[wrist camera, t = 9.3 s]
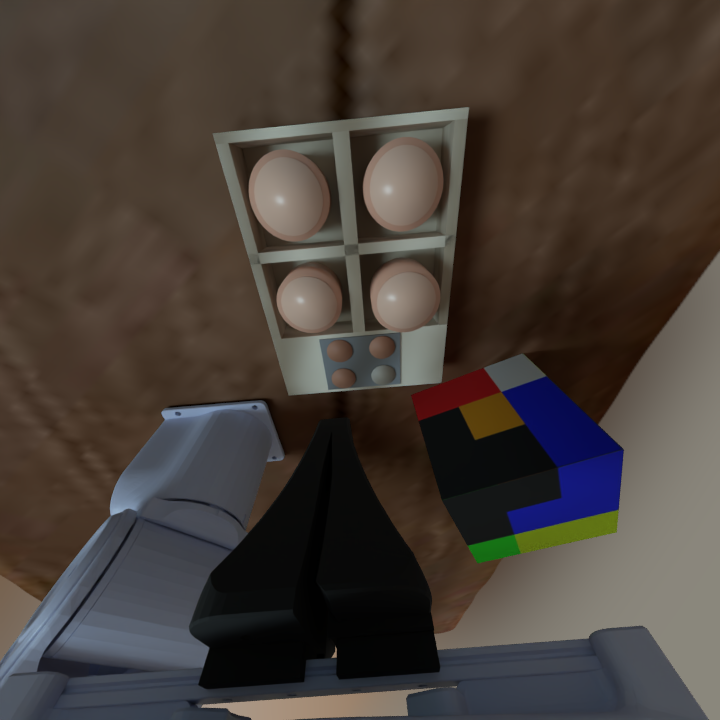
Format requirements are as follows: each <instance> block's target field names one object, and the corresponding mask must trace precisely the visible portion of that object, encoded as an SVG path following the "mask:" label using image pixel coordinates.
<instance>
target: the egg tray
mask: <svg viewBox="0 0 720 720" xmlns="http://www.w3.org/2000/svg"><path fill="white" fill-rule="evenodd" d="M468 111H469V107H466V108H456V109H446V110H437V111H427V112H417V113H408V114H398V115H388V116H378V117H369V118H359V119H349V120H339V121H330V122H320V123H310V124H301V125H291V126H281V127H271V128H262V129H252V130H242V131H232V132H223V133H213V137H214V140H215V143H216V147H217V150H218V154H219V157H220V161H221V164H222V167H223V171H224V174H225V178H226V181H227V185H228V188H229V192H230V195H231V198H232V202H233V205H234V209H235V212H236V216H237V219H238V223H239V226H240V229H241V233H242V236H243V240H244V243H245V247H246V250H247V253H248V257H249V260H250V264H251V267H252V271H253V274H254V278H255V281H256V284H257V288H258V291H259V295H260V298H261V302H262V305H263V309H264V312H265V315H266V319H267V322H268V326H269V329H270V333H271V336H272V339H273V343H274V346H275V350H276V353H277V357H278V360H279V364H280V367H281V370H282V374H283V377H284V381H285V384H286V388H287V391H288V395H300V394H312V393H324V392H336V391H348V390H360V389H372V388H384V387H396V386H408V385H420V384H432V383H441V381H442V371H443V361H444V351H445V341H446V331H447V321H448V311H449V301H450V291H451V281H452V271H453V261H454V251H455V241H456V231H457V221H458V211H459V201H460V191H461V181H462V171H463V161H464V151H465V141H466V131H467V121H468ZM401 137H413V138H417V139H420V140H422V141H424V142H425V143H427V144H428V145H429V146H430V147H431V148H432V149H433V150H434V151H435V153H436V154H437V156H438V158H439V160H440V163H441V166H442V170H443V191H442V195H441V198H440V201H439V203H438V205H437V208H436V209H435V211H434V212H433V214H432V215H431V216H430V217H429V218H428V219H427V221H425V222H424V223H423V224H422V225H420V226H418V227H417V228H414V229H412V230H409V231H403V232H398V231H392V230H389V229H386V228H384V227H383V226H381V225H380V224H379V223H378V222H376V220H375V219H374V218H373V217H372V216H371V214H370V213H369V211H368V210H367V208H366V205H365V203H364V199H363V193H362V184H363V177H364V174H365V171H366V168H367V166H368V164H369V162H370V161H371V159H372V158H373V156H374V155H375V154H376V153H377V151H378V150H379V149H380V148H381V147H382V146H384V145H385V144H386V143H388V142H390V141H392V140H394V139H397V138H401ZM282 149H286V150H292V151H295V152H298V153H300V154H302V155H304V156H305V157H307V158H308V159H310V160H311V161H312V162H314V163H315V164H316V165H317V166H318V167H319V168H320V169H321V171H322V172H323V173H324V175H325V177H326V179H327V181H328V183H329V187H330V191H331V209H330V213H329V216H328V218H327V220H326V222H325V223H324V225H323V226H322V227H321V228H320V230H319V231H318V232H317V233H316V234H315V235H313V236H312V237H310V238H308V239H306V240H303V241H296V242H292V241H286V240H282V239H280V238H278V237H276V236H274V235H272V234H271V233H270V232H268V231H267V230H266V229H265V228H264V227H263V226H262V225H261V223H260V222H259V221H258V219H257V217H256V216H255V214H254V211H253V209H252V206H251V203H250V198H249V180H250V176H251V173H252V170H253V168H254V166H255V165H256V163H257V162H258V161H259V160H260V159H261V158H262V157H263V156H264V155H266V154H268V153H269V152H272V151H275V150H282ZM395 258H411V259H414V260H416V261H418V262H419V263H421V264H422V265H423V266H424V267H425V268H426V269H427V270H428V271H429V272H430V273H431V275H432V276H433V277H434V278H435V279H436V281H437V283H438V285H439V288H440V304H439V307H438V310H437V312H436V313H435V315H434V316H433V318H432V319H431V320H430V321H429V322H428V323H427V324H426V325H424V326H423V327H421V328H419V329H417V330H414V331H410V332H395V331H392V330H389V329H387V328H385V327H384V326H382V325H381V324H380V323H379V322H378V320H377V319H376V317H375V315H374V313H373V309H372V304H371V299H370V283H371V280H372V277H373V275H374V274H375V272H376V271H377V269H378V268H379V267H380V266H382V265H383V264H384V263H386V262H387V261H390V260H392V259H395ZM308 262H314V263H319V264H322V265H325V266H326V267H328V268H330V269H331V270H332V271H333V272H334V273H335V274H336V275H337V277H338V278H339V280H340V282H341V285H342V290H343V297H342V309H341V313H340V316H339V318H338V320H337V321H336V323H335V324H334V325H333V326H331V327H330V328H329V329H327V330H325V331H322V332H318V333H306V332H302V331H299V330H297V329H295V328H293V327H292V326H290V325H289V324H288V323H287V322H286V321H285V320H284V319H283V318H282V316H281V314H280V312H279V310H278V307H277V292H278V289H279V287H280V285H281V283H282V282H283V281H284V279H285V278H286V277H287V275H288V274H289V273H290V271H291V270H292V269H293V268H295V267H296V266H298V265H300V264H303V263H308Z"/></svg>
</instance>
